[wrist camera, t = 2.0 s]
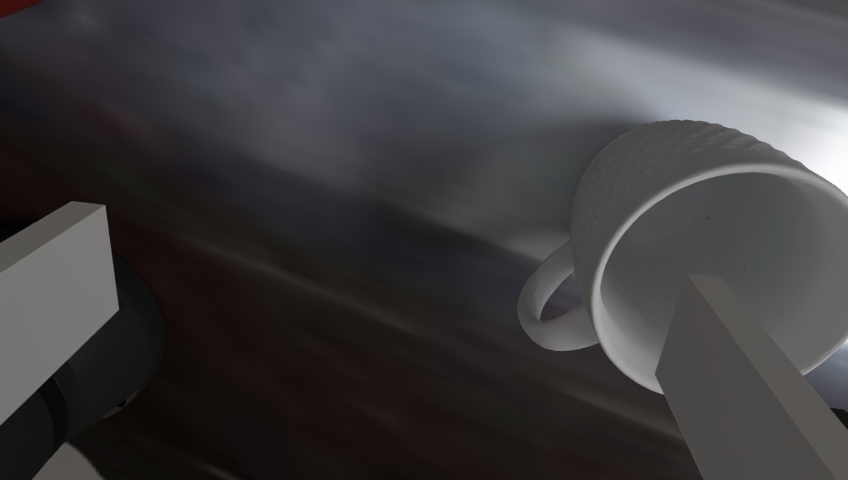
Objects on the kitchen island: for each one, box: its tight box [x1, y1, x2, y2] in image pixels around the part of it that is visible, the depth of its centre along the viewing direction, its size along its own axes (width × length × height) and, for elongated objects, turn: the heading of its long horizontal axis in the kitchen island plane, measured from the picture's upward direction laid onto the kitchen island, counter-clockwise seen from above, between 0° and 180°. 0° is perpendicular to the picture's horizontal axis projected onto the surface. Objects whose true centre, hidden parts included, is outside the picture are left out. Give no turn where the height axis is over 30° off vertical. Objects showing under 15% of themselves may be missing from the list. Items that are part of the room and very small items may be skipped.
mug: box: [517, 120, 848, 395], centre depth 30 cm, size 15×11×13 cm
